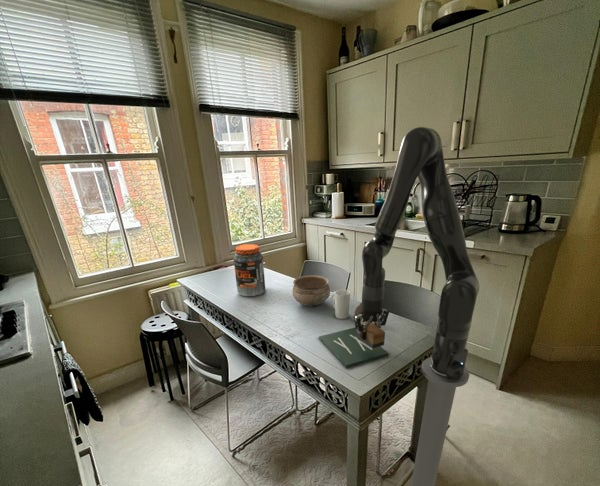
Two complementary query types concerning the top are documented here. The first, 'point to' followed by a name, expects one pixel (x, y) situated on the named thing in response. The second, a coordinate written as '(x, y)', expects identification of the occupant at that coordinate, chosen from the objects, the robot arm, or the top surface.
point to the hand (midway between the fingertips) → (369, 337)
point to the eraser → (373, 336)
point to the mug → (341, 303)
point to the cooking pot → (311, 290)
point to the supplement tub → (249, 270)
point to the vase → (358, 310)
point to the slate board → (351, 347)
